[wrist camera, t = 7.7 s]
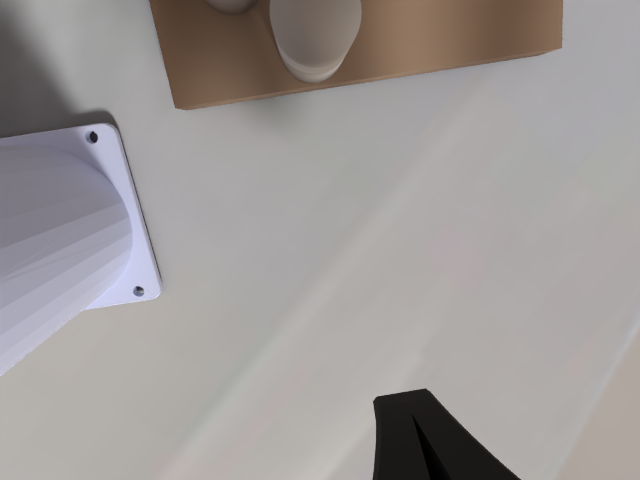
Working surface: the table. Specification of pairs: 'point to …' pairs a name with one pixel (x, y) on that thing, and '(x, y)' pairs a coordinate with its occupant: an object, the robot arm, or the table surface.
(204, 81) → the board
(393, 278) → the table surface
